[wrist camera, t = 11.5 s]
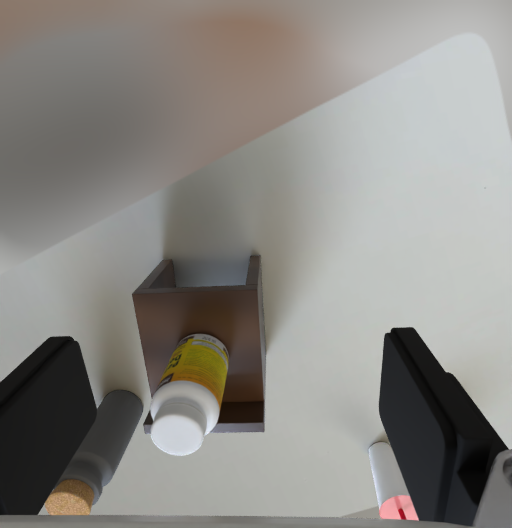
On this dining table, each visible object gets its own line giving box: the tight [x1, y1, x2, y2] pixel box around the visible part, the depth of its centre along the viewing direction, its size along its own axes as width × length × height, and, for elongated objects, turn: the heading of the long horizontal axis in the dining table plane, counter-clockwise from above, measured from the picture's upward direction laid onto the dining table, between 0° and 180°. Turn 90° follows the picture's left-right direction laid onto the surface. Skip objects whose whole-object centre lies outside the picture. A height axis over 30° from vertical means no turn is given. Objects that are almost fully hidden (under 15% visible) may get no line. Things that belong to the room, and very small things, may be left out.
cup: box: [369, 442, 419, 520], centre depth 46 cm, size 5×5×12 cm
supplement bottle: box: [150, 334, 229, 455], centre depth 31 cm, size 6×6×10 cm
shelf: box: [132, 256, 266, 434], centre depth 39 cm, size 14×12×13 cm
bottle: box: [45, 390, 143, 515], centre depth 44 cm, size 6×6×15 cm
